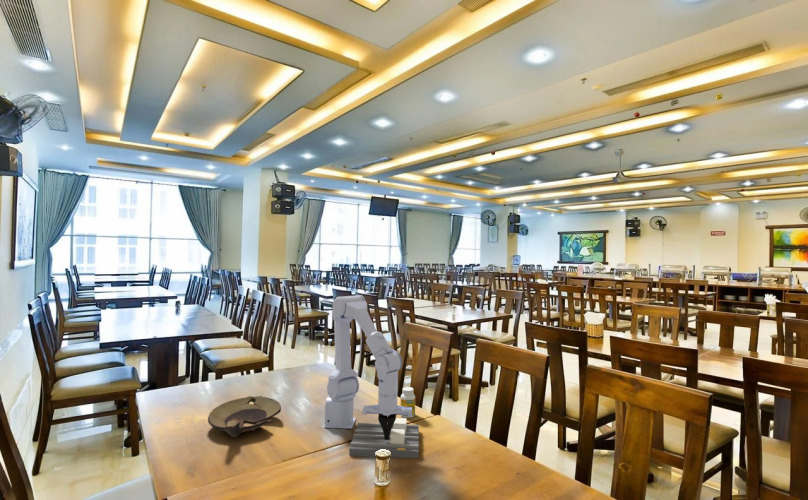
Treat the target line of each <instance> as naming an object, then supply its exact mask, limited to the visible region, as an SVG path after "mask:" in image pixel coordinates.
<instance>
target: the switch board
mask: <svg viewBox="0 0 808 500" xmlns="http://www.w3.org/2000/svg"><path fill="white" fill-rule="evenodd" d="M356 426H357V427H356V429H354V433H353V435H352V440H351V442H350V446H349V448H348V449H349V453H348V455H349V456H352V457H355V456H357V457H373V458H375V452H376V451H378V450H380V449H386V450H389V451H390V452H391V457H390V458H401V459H419V452H420V451H419V446H420V445H419V440H420V437H419V434H420V432H419V430H420V429H419V428H420V425H419V424H406V432H405V440H404V444H391V432H390V436H389V440H385V439H384V433H383V429H382V427H381V424H380V422H378V423H377V422H375V423H374V422H357V425H356ZM392 429H393V426H392ZM392 429H391V430H392Z"/></svg>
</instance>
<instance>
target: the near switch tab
mask: <svg viewBox="0 0 808 500" xmlns="http://www.w3.org/2000/svg"><path fill="white" fill-rule="evenodd" d="M404 440H405V430H404V429H392V430H391V444H404Z"/></svg>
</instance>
